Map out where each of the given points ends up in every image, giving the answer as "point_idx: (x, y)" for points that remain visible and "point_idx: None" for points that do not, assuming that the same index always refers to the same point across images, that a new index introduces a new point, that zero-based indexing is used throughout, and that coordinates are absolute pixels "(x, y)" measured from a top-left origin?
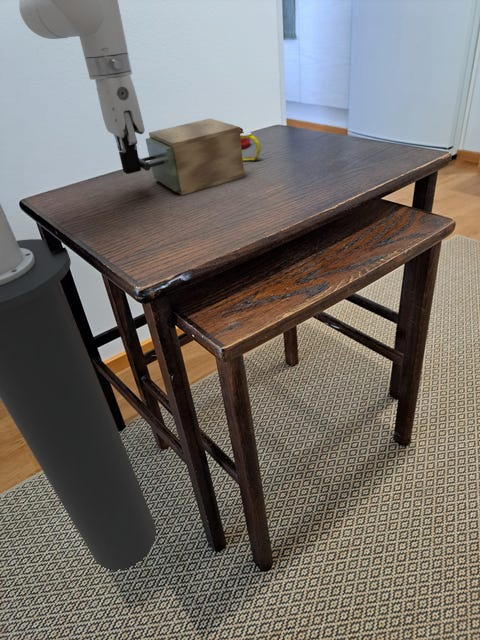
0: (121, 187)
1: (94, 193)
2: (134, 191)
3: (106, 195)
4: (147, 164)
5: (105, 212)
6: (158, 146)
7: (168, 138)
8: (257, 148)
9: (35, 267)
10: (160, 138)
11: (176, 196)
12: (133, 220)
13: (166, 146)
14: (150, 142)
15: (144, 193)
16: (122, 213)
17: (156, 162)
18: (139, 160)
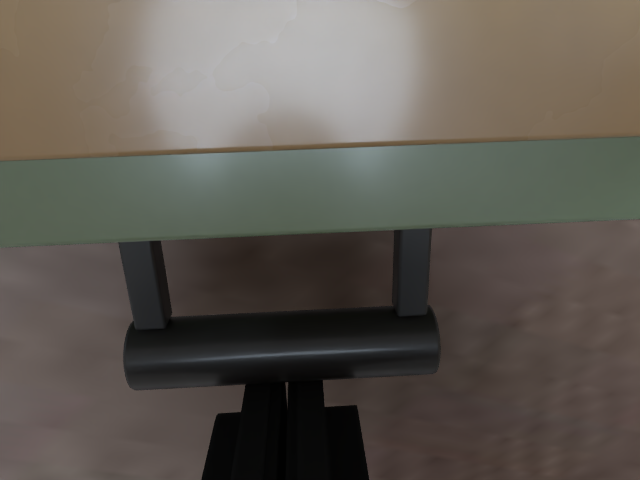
0: (33, 337)
1: (47, 471)
2: (177, 295)
3: (132, 430)
4: (438, 344)
5: (395, 476)
6: (390, 225)
7: (507, 40)
8: None
9: None
10: (271, 150)
11: None
12: (610, 403)
13: (619, 164)
14: (15, 242)
15: (265, 257)
16: (478, 422)
17: (426, 248)
18: (260, 377)
